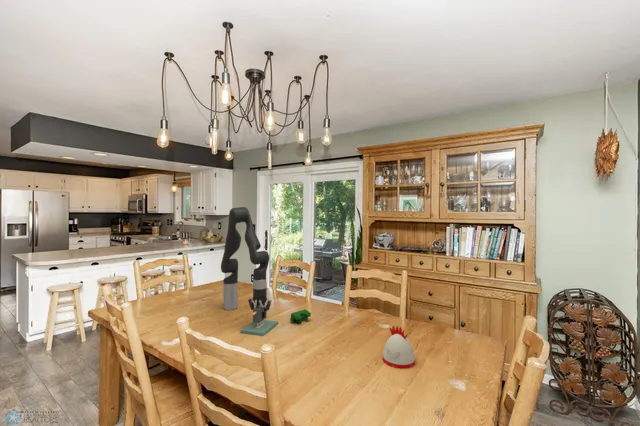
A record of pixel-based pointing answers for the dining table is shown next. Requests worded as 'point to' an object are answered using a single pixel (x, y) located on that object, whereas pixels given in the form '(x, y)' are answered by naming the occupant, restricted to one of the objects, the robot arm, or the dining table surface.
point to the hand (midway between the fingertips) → (259, 317)
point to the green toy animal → (300, 316)
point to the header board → (259, 327)
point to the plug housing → (258, 314)
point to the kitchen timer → (398, 350)
